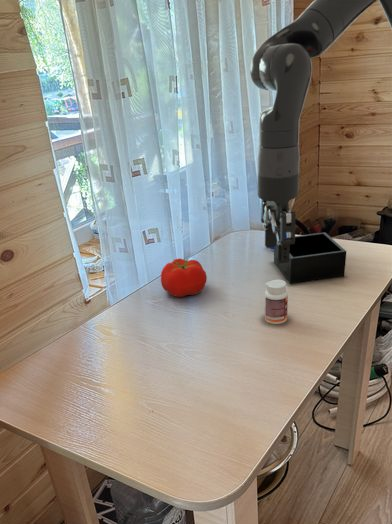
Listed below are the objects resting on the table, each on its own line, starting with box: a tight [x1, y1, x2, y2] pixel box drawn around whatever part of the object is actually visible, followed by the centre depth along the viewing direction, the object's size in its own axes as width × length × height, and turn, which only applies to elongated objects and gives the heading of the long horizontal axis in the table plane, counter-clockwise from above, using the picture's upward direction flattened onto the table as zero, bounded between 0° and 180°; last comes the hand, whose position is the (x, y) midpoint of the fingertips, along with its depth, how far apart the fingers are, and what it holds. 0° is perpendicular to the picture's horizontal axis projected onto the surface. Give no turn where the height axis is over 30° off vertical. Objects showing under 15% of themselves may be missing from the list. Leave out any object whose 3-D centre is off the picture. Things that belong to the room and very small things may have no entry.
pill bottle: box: [264, 279, 289, 325], centre depth 108 cm, size 5×5×8 cm
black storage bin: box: [273, 231, 347, 285], centre depth 128 cm, size 14×14×7 cm
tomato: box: [160, 258, 208, 298], centre depth 122 cm, size 11×11×8 cm
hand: (276, 254), depth 102 cm, fingers open, 8 cm apart
